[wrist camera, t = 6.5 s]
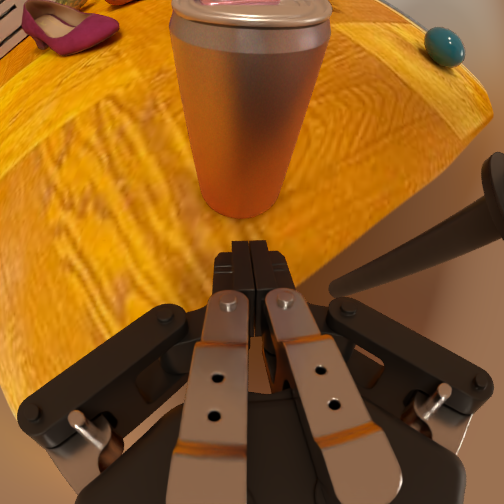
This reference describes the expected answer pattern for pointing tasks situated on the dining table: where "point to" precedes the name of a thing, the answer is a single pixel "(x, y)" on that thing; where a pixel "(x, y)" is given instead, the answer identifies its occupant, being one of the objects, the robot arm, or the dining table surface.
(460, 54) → the ball
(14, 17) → the toaster
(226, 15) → the beverage can
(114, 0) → the potato
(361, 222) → the dining table surface
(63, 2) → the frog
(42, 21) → the high heel
